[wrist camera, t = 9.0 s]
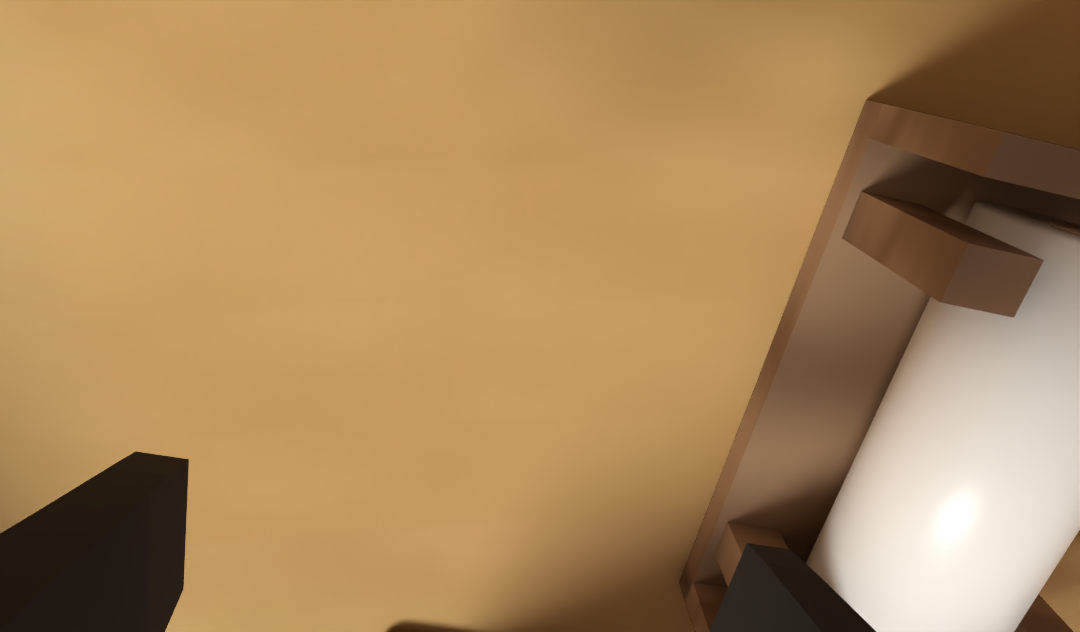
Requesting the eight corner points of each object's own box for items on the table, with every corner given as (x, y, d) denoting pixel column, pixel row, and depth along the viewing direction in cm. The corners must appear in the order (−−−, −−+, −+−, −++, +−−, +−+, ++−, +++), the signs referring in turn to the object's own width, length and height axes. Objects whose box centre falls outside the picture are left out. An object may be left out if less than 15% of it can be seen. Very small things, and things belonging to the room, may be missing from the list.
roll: (948, 625, 21) (983, 762, 17) (788, 559, 22) (783, 671, 18) (1174, 245, 17) (1300, 299, 12) (958, 188, 18) (1004, 220, 13)
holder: (958, 622, 24) (1068, 767, 19) (678, 583, 22) (725, 729, 18) (1220, 186, 18) (1463, 244, 14) (866, 99, 17) (1004, 131, 12)
